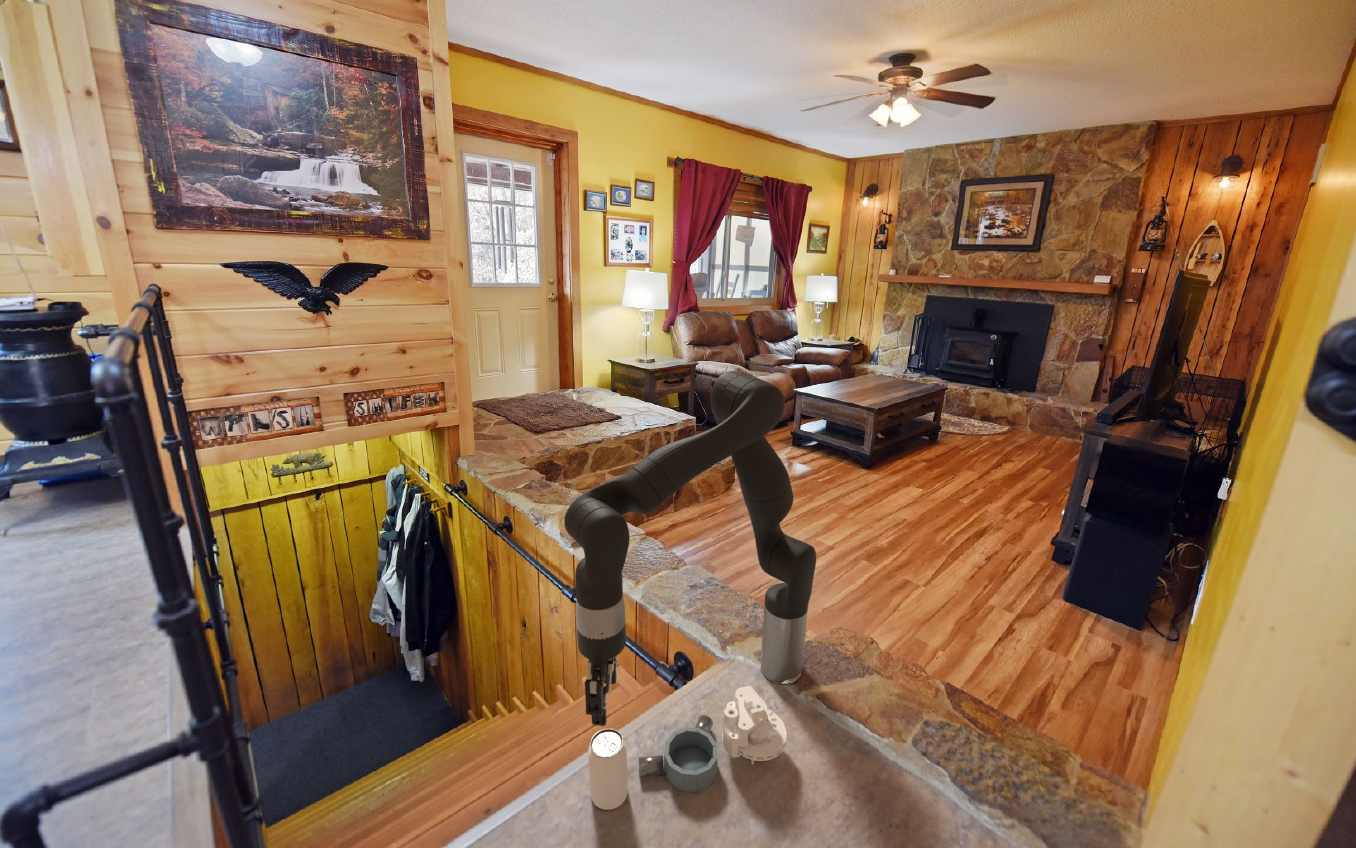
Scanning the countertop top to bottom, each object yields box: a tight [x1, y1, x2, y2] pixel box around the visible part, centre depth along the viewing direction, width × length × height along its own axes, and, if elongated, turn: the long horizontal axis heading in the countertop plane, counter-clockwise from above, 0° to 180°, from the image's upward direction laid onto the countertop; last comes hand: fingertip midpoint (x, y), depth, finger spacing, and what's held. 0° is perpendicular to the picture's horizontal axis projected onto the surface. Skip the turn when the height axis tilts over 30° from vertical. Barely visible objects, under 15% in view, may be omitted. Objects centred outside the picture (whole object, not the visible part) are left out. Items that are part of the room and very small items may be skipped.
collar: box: [663, 726, 718, 794], centre depth 102 cm, size 10×10×4 cm
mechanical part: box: [721, 685, 788, 766], centre depth 104 cm, size 11×12×12 cm
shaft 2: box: [694, 714, 714, 735], centre depth 108 cm, size 4×3×3 cm
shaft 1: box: [638, 754, 665, 777], centre depth 101 cm, size 4×3×3 cm
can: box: [587, 728, 629, 811], centre depth 96 cm, size 6×6×12 cm
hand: (604, 702), depth 91 cm, fingers open, 8 cm apart
